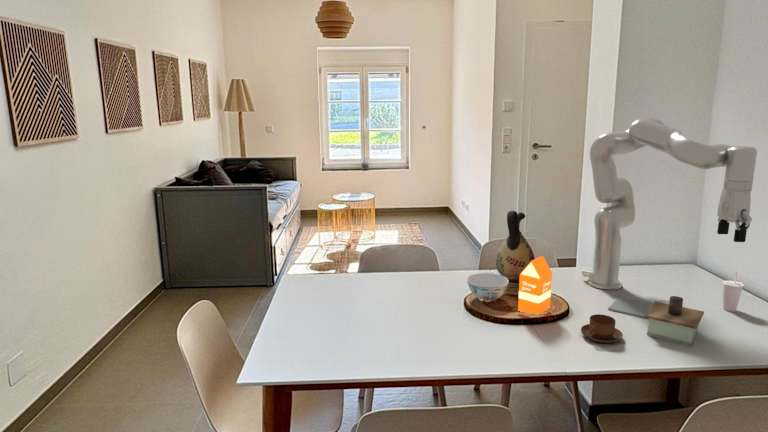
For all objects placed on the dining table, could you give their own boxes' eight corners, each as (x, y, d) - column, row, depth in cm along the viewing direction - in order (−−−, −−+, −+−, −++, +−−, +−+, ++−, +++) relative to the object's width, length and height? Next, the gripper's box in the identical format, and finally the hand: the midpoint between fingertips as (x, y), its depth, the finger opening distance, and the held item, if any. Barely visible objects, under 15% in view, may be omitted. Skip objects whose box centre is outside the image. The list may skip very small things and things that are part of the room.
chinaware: (462, 303, 190) (463, 283, 188) (471, 290, 203) (472, 271, 202) (504, 309, 184) (504, 288, 183) (510, 294, 198) (511, 275, 196)
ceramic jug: (504, 273, 223) (507, 204, 216) (539, 280, 214) (543, 208, 207) (487, 284, 209) (489, 211, 203) (524, 292, 200) (528, 216, 194)
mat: (608, 309, 183) (608, 308, 183) (619, 297, 195) (619, 295, 194) (655, 320, 174) (655, 318, 174) (664, 306, 185) (664, 304, 185)
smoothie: (743, 313, 179) (749, 274, 175) (723, 312, 180) (728, 273, 177) (735, 306, 185) (741, 268, 182) (715, 305, 186) (720, 267, 183)
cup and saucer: (618, 349, 154) (620, 330, 153) (576, 340, 161) (578, 321, 159) (624, 334, 164) (626, 316, 163) (584, 326, 171) (586, 308, 169)
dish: (647, 335, 163) (649, 317, 162) (655, 322, 173) (657, 305, 171) (690, 345, 156) (693, 327, 155) (697, 331, 165) (699, 314, 164)
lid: (644, 317, 162) (646, 299, 161) (654, 303, 173) (656, 287, 171) (696, 329, 153) (698, 310, 152) (703, 313, 164) (706, 296, 163)
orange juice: (517, 314, 180) (520, 258, 176) (529, 306, 187) (532, 253, 182) (538, 320, 175) (541, 263, 171) (550, 312, 181) (553, 257, 177)
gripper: (711, 181, 174) (704, 231, 178) (740, 190, 157) (733, 244, 161) (734, 181, 173) (728, 231, 177) (767, 190, 156) (759, 245, 160)
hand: (730, 237), depth 169 cm, fingers open, 9 cm apart
